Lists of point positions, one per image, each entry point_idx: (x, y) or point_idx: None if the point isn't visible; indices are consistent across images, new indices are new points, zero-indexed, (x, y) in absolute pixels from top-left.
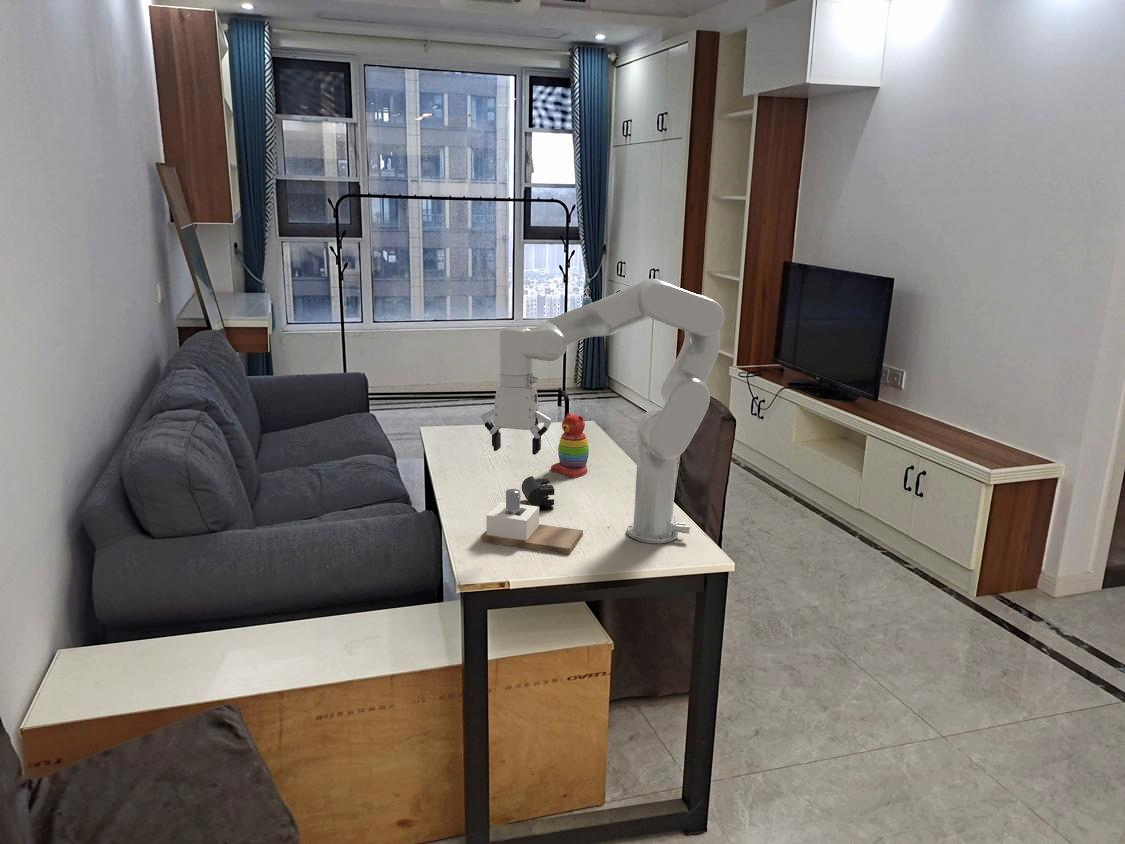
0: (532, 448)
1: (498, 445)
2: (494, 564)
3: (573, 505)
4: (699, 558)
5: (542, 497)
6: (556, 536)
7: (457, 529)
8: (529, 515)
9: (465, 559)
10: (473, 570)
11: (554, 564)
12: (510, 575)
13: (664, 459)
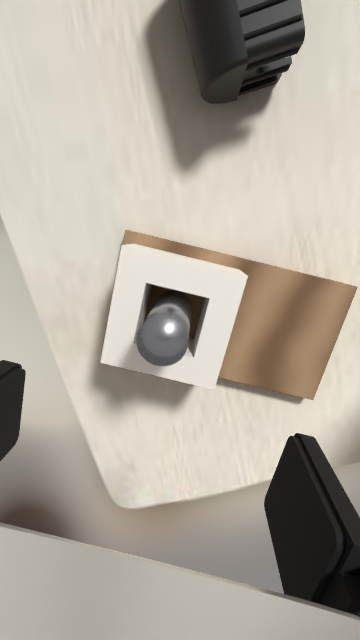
0: (273, 541)
1: (4, 422)
2: (154, 446)
3: (350, 17)
4: None
5: (251, 72)
6: (284, 335)
7: (37, 276)
8: (220, 352)
9: (95, 430)
10: (120, 471)
11: (272, 438)
12: (190, 485)
13: None
